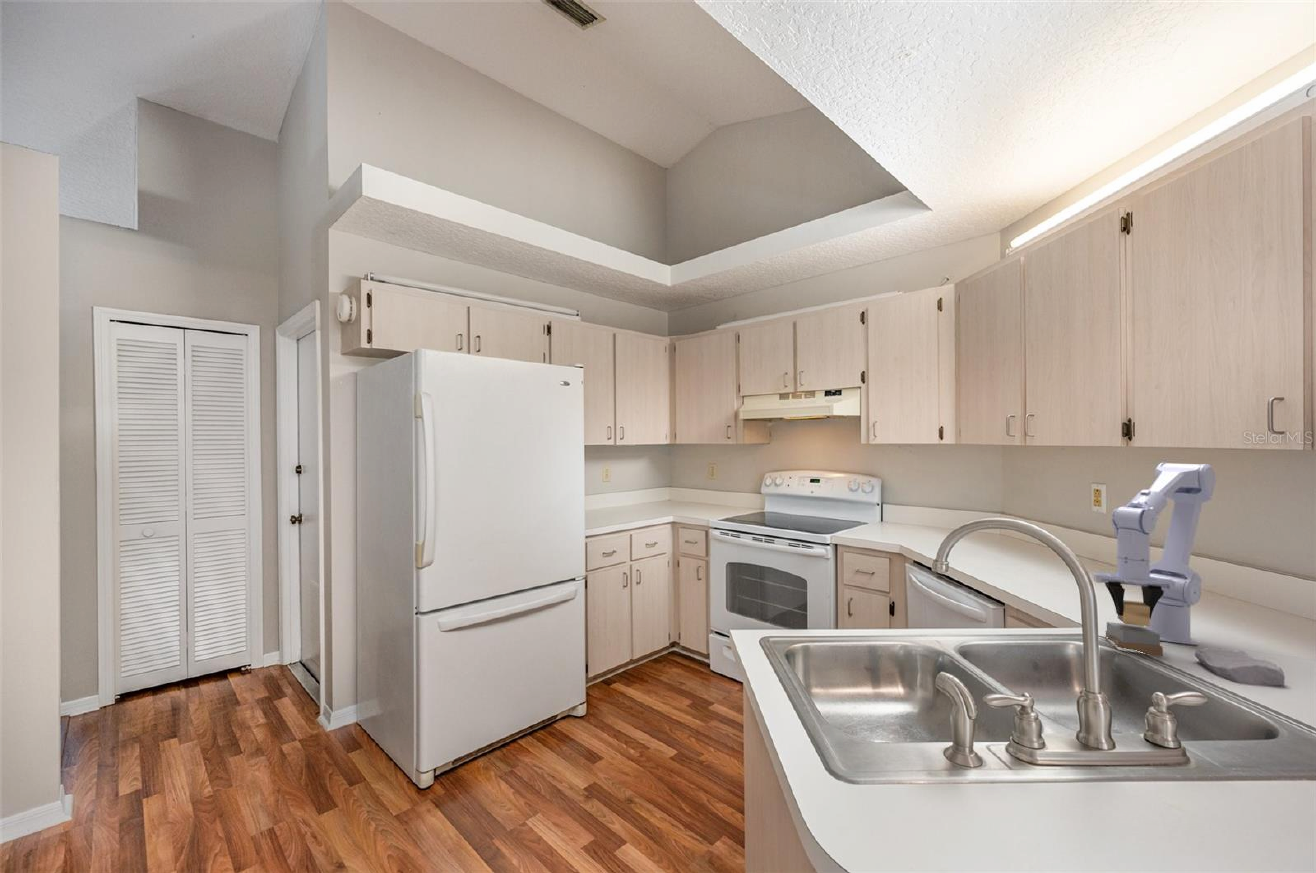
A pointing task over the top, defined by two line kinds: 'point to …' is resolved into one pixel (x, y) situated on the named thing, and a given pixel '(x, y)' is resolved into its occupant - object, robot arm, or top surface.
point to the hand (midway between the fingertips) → (1133, 616)
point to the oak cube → (1135, 613)
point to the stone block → (1241, 667)
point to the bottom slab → (1138, 646)
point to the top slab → (1133, 634)
